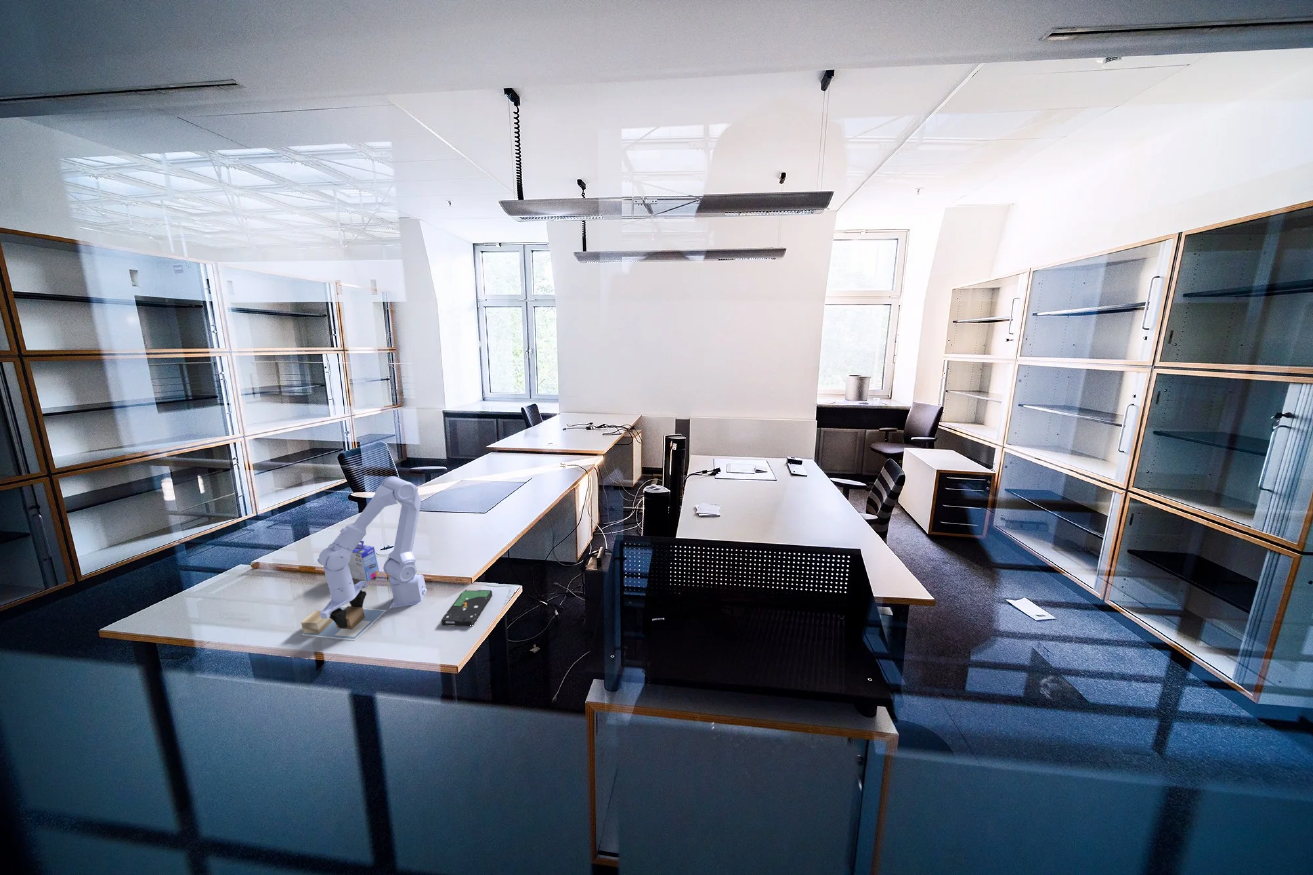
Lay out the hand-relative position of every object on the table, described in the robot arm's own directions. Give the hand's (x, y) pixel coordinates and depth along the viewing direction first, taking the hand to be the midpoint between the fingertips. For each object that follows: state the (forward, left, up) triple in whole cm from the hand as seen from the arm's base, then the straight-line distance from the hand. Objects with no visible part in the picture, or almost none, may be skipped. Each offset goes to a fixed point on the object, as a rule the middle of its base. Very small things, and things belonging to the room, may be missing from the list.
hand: (350, 620), depth 123 cm
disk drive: (-33, -1, -4) cm, 34 cm away
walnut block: (0, 0, -1) cm, 1 cm away
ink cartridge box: (+8, -29, -4) cm, 31 cm away
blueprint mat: (+3, -3, -3) cm, 6 cm away
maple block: (+11, -3, -3) cm, 11 cm away
